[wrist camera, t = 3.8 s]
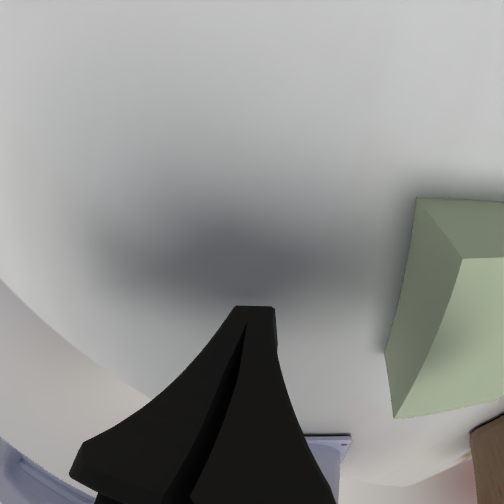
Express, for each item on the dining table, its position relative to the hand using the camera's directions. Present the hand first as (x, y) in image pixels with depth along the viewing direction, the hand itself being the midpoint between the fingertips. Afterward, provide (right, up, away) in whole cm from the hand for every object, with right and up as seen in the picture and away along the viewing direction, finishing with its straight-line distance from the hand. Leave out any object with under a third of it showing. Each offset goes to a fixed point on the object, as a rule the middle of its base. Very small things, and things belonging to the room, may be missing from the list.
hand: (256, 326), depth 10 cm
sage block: (+9, +1, 0) cm, 9 cm away
